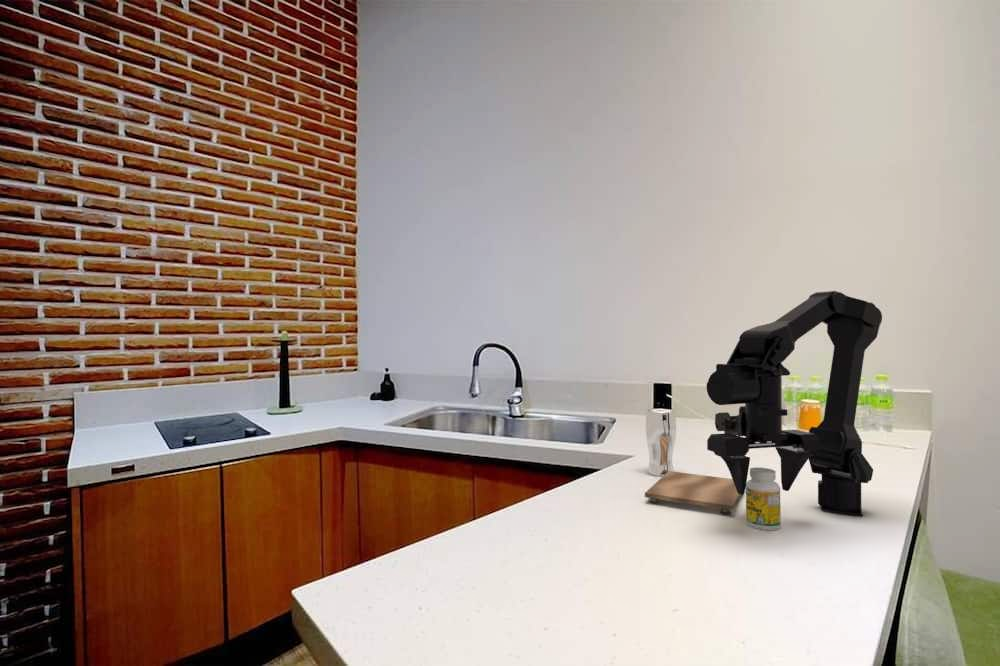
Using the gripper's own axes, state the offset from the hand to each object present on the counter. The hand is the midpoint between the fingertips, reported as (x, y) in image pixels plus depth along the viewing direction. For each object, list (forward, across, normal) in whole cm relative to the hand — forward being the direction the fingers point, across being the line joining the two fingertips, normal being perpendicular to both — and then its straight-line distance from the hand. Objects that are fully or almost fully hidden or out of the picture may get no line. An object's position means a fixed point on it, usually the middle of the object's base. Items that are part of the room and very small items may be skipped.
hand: (763, 492), depth 93 cm
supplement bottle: (+6, 0, 0) cm, 6 cm away
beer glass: (+6, -2, -36) cm, 37 cm away
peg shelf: (+6, +1, -18) cm, 19 cm away
